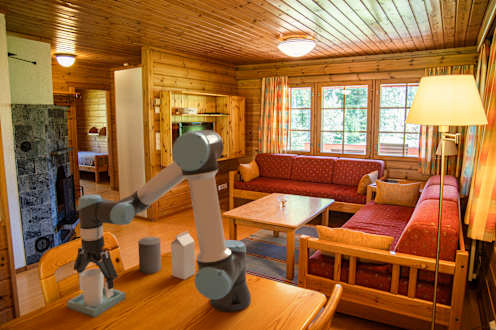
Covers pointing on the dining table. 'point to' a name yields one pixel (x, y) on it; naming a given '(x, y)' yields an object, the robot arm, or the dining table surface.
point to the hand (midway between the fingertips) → (96, 292)
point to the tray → (107, 303)
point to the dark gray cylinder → (149, 255)
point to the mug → (93, 287)
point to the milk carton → (183, 256)
